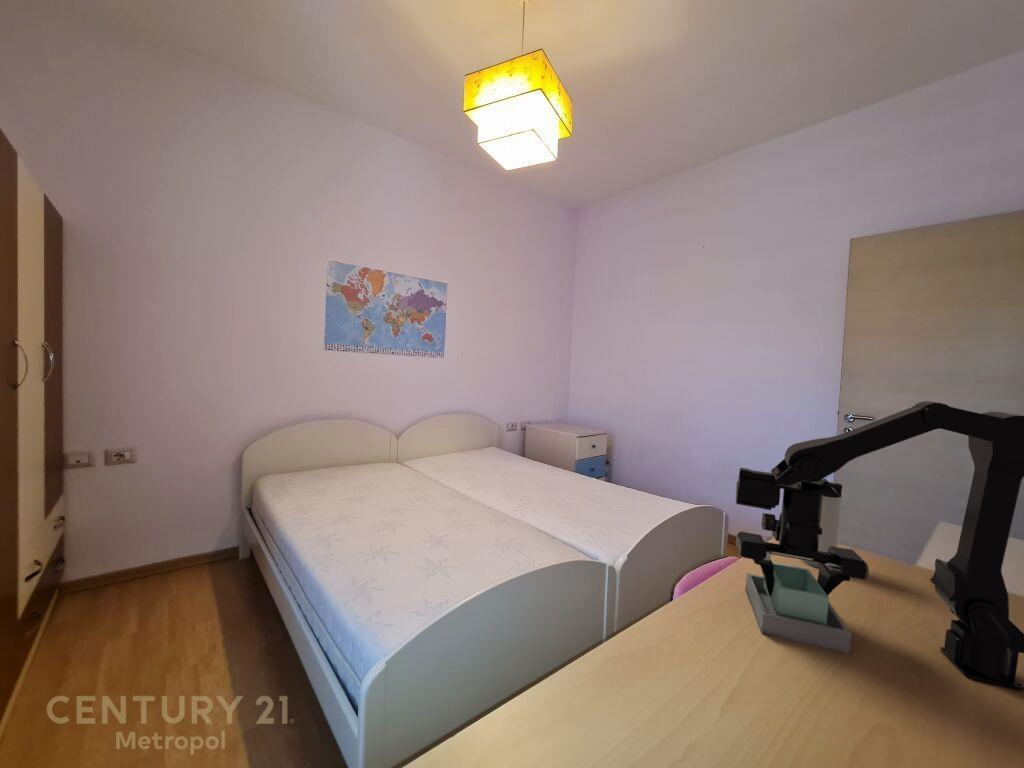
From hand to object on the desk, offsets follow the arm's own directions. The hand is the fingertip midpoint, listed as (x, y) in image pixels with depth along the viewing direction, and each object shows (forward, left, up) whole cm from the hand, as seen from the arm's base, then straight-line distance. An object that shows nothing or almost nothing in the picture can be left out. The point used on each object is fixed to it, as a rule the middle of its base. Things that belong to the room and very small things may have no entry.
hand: (793, 599), depth 74 cm
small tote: (0, 0, -1) cm, 1 cm away
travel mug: (-12, -27, -4) cm, 30 cm away
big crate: (0, 0, -4) cm, 4 cm away
